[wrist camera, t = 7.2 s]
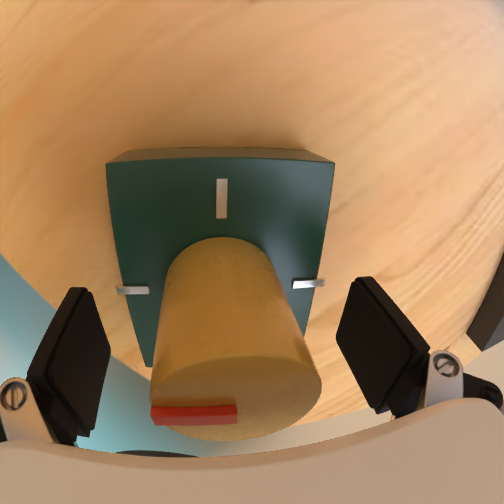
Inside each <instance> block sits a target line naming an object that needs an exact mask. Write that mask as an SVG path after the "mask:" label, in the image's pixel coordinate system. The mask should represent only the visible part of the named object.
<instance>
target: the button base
mask: <svg viewBox="0 0 504 504" xmlns="http://www.w3.org/2000/svg"><path fill="white" fill-rule="evenodd" d="M466 334H467V335H468V336H469V337H470V339H471V340H472V341H473V342H474V343H475V344H476V346H477V347H478V348H479V349H480V350H481V352H482V351H484V350H486V349H488V348H490V347H492V346H494V345H495V344H497V343H499V342H501V341H502V340H504V255H503V257H502V260H501V263H500V265H499V268H498V270H497V273H496V275H495V277H494V280H493V282H492V284H491V286H490V289H489V291H488V293H487V295H486V297H485V299H484V301H483V303H482V305H481V307H480V309H479V311H478V313H477V315H476V317H475V319H474V321H473V323H472V325H471V326H470V328H469V330H468V332H467V333H466Z"/></svg>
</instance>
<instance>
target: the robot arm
mask: <svg viewBox="0 0 504 504" xmlns="http://www.w3.org/2000/svg"><path fill="white" fill-rule="evenodd" d="M336 341H337V344H338V346H339V348H340V349H341V351H342V353H343V355H344V357H345V359H346V361H347V363H348V365H349V367H350V369H351V371H352V373H353V375H354V377H355V379H356V381H357V383H358V384H359V386H360V388H361V390H362V392H363V394H364V396H365V398H366V400H367V402H368V404H369V406H370V407H371V408H374V410H375V412H376V414H380V413H383V412H386V411H389V410H390V411H391V413H392V417H391V420H390V422H387V423H384V424H381V425H378V426H375V427H372V428H369V429H366V430H363V431H359V432H356V433H353V434H350V435H346V436H342V437H338V438H334V439H331V440H326V441H323V442H318V443H313V444H309V445H305V446H299V447H294V448H289V449H282V450H276V451H270V452H262V453H254V454H246V455H235V456H220V457H191V458H179V457H151V456H137V455H127V454H118V453H110V452H102V451H95V450H89V449H83V448H79V447H78V445H77V443H76V438H77V435H78V436H83V437H89V436H90V430H93V429H94V428H95V423H96V417H97V412H98V407H99V401H100V397H101V392H102V388H103V383H104V379H105V375H106V371H107V367H108V363H109V359H110V354H111V349H110V345H109V342H108V339H107V337H106V334H105V331H104V328H103V325H102V323H101V320H100V317H99V314H98V311H97V308H96V304H95V301H94V298H93V295H92V293H91V292H88V290H87V288H85V287H71V288H70V289H69V291H68V292H67V294H66V296H65V298H64V299H63V301H62V303H61V305H60V306H59V308H58V310H57V312H56V314H55V316H54V318H53V319H52V321H51V323H50V325H49V327H48V329H47V331H46V333H45V335H44V337H43V339H42V341H41V343H40V345H39V347H38V349H37V351H36V354H35V356H34V358H33V360H32V363H31V365H30V367H29V369H28V371H27V377H26V380H24V379H22V378H19V377H13V378H10V379H8V380H7V381H6V382H4V383H3V384H2V385H1V386H0V504H504V400H503V395H502V393H501V391H500V389H499V388H498V387H497V386H496V385H495V384H493V383H491V382H489V381H486V380H483V379H480V378H477V377H474V376H472V375H469V374H466V373H463V366H462V364H461V362H460V360H459V359H458V358H457V357H456V356H455V355H454V354H452V353H450V352H448V351H445V350H437V351H435V352H433V353H432V354H431V355H430V354H429V353H428V351H429V350H430V348H431V347H430V346H429V345H428V344H427V342H426V341H425V340H424V338H423V337H422V336H421V335H420V333H419V332H418V331H417V330H416V328H415V327H414V326H413V325H412V323H411V322H410V321H409V320H408V318H407V317H406V316H405V315H404V313H403V312H402V311H401V310H400V309H399V307H398V306H397V305H396V304H395V303H394V301H393V300H392V299H391V298H390V297H389V296H388V294H387V293H386V292H385V291H384V290H383V289H382V287H381V286H380V285H379V284H378V283H377V282H376V281H375V279H374V278H373V277H371V276H367V277H358V278H356V279H355V281H354V282H352V283H351V286H350V290H349V293H348V297H347V300H346V304H345V307H344V311H343V314H342V317H341V320H340V324H339V327H338V330H337V333H336Z"/></svg>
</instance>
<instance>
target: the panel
mask: <svg viewBox="0 0 504 504" xmlns="http://www.w3.org/2000/svg"><path fill="white" fill-rule="evenodd" d="M334 169H335V163H334V162H332V161H330V160H327V159H325V158H323V157H321V156H318V155H316V154H314V153H311V152H309V151H305V150H292V149H276V148H252V147H186V148H163V149H147V150H134V151H127V152H126V153H124V154H122V155H120V156H118V157H116V158H115V159H113V160H111V161H109V162H108V163H106V177H107V188H108V197H109V206H110V214H111V221H112V228H113V234H114V240H115V246H116V252H117V257H118V262H119V267H120V272H121V277H122V282H123V285H116V286H115V288H116V292H117V294H125V295H126V299H127V303H128V307H129V311H130V315H131V319H132V322H133V326H134V330H135V333H136V337H137V340H138V343H139V347H140V350H141V353H142V356H143V360H144V363H145V366H146V367H153V360H154V352H155V344H156V337H157V329H158V323H159V316H160V310H161V303H162V297H163V292H164V286H165V280H166V276H167V272H168V269H169V267H170V265H171V264H172V262H173V260H174V259H175V258H176V257H177V256H178V254H180V253H181V252H182V251H183V250H184V249H186V248H187V247H189V246H190V245H192V244H194V243H196V242H198V241H201V240H204V239H209V238H214V237H231V238H237V239H241V240H244V241H247V242H249V243H251V244H253V245H255V246H256V247H258V248H259V249H260V250H262V251H263V252H264V253H265V254H266V255H267V256H268V258H269V259H270V261H271V262H272V264H273V266H274V269H275V271H276V273H277V276H278V278H279V280H280V283H281V285H282V287H283V290H284V292H285V294H286V297H287V299H288V302H289V304H290V306H291V309H292V311H293V313H294V316H295V318H296V321H297V323H298V325H299V328H300V330H301V332H302V335H303V337H304V335H305V331H306V326H307V322H308V317H309V313H310V308H311V304H312V299H313V294H314V290H315V287H322V286H324V282H325V279H324V278H317V275H318V269H319V264H320V259H321V253H322V248H323V242H324V236H325V230H326V224H327V218H328V212H329V205H330V198H331V191H332V184H333V177H334Z"/></svg>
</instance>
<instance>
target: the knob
mask: <svg viewBox="0 0 504 504" xmlns="http://www.w3.org/2000/svg"><path fill="white" fill-rule="evenodd" d="M321 387H322V383H321V378H320V376H319V374H318V371H317V369H316V366H315V364H314V361H313V359H312V357H311V354H310V352H309V349H308V347H307V344H306V342H305V340H304V337H303V335H302V332H301V330H300V328H299V325H298V323H297V321H296V318H295V316H294V313H293V311H292V309H291V306H290V304H289V302H288V299H287V297H286V294H285V292H284V290H283V287H282V285H281V283H280V280H279V278H278V276H277V273H276V271H275V269H274V266H273V264H272V262H271V261H270V259H269V258H268V256H267V255H266V254H265V253H264V252H263V251H262V250H260V249H259V248H258V247H256V246H255V245H253V244H251V243H249V242H247V241H244V240H241V239H237V238H231V237H214V238H209V239H204V240H201V241H198V242H196V243H194V244H192V245H190V246H189V247H187V248H186V249H184V250H183V251H182V252H181V253H180V254H178V256H177V257H176V258H175V259H174V260H173V262H172V264H171V265H170V267H169V269H168V272H167V276H166V280H165V286H164V292H163V297H162V303H161V310H160V316H159V323H158V329H157V337H156V344H155V352H154V360H153V369H152V378H151V388H150V405H151V418H152V420H153V422H154V424H155V425H165V426H167V427H169V428H170V429H172V430H174V431H176V432H179V433H181V434H183V435H187V436H190V437H194V438H198V439H204V440H212V441H238V440H246V439H252V438H257V437H261V436H265V435H268V434H271V433H274V432H277V431H279V430H281V429H284V428H286V427H288V426H290V425H292V424H293V423H295V422H297V421H298V420H300V419H301V418H302V417H304V416H305V415H306V414H307V413H308V412H309V411H310V410H311V409H312V408H313V407H314V405H315V404H316V403H317V401H318V399H319V397H320V394H321Z"/></svg>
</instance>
